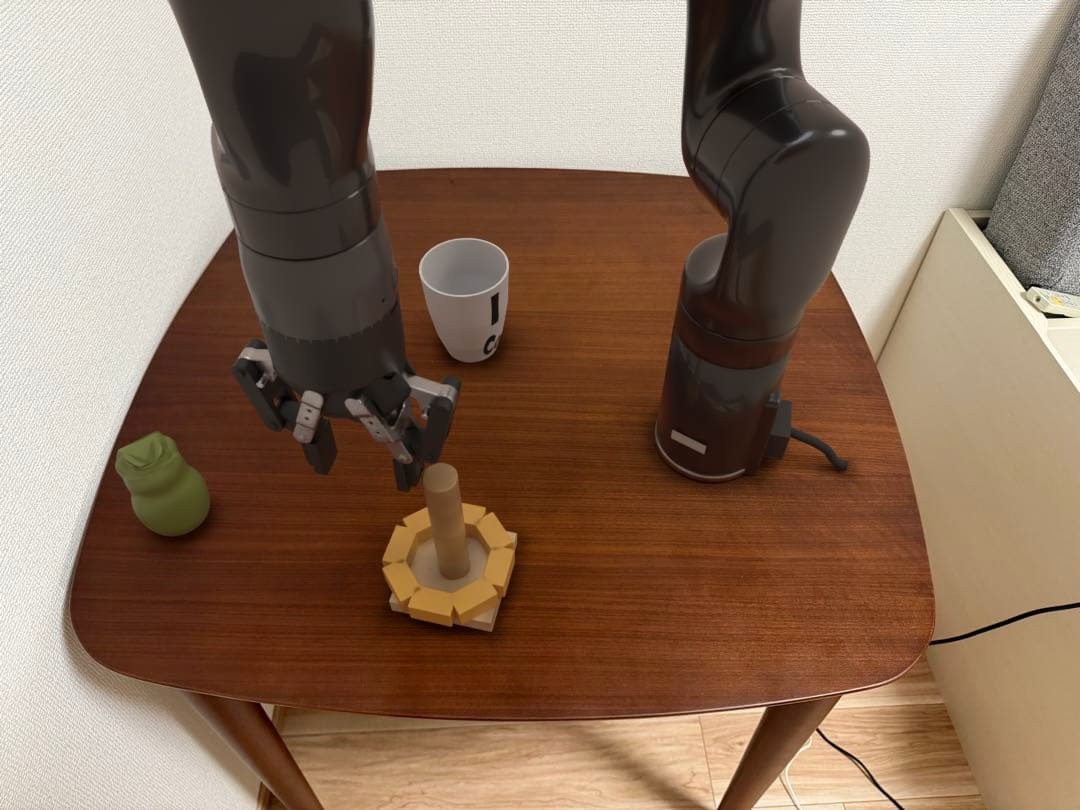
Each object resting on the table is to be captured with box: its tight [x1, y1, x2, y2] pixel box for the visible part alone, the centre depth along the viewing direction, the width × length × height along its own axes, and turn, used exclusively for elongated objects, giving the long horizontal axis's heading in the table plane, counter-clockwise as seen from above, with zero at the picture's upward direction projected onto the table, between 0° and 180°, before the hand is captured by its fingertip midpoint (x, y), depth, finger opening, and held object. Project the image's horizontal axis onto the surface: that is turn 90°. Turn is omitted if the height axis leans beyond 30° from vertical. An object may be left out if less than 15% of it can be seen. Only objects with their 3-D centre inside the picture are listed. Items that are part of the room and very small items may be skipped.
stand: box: [388, 462, 518, 633], centre depth 60 cm, size 8×8×14 cm
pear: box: [114, 430, 211, 537], centre depth 65 cm, size 6×5×10 cm
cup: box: [418, 237, 510, 363], centre depth 78 cm, size 8×8×10 cm
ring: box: [381, 502, 516, 628], centre depth 63 cm, size 10×10×2 cm
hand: (368, 472), depth 56 cm, fingers open, 5 cm apart
